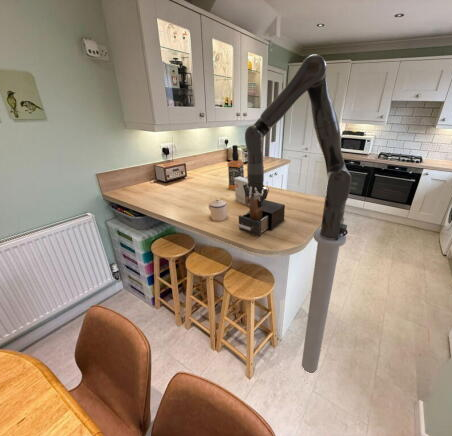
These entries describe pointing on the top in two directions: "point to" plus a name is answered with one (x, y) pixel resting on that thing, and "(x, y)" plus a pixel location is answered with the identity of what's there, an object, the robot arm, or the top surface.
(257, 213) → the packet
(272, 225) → the dark brown cabinet
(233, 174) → the whiskey bottle
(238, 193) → the skincare box
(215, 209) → the teacup with lid
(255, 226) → the drawer
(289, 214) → the top surface
